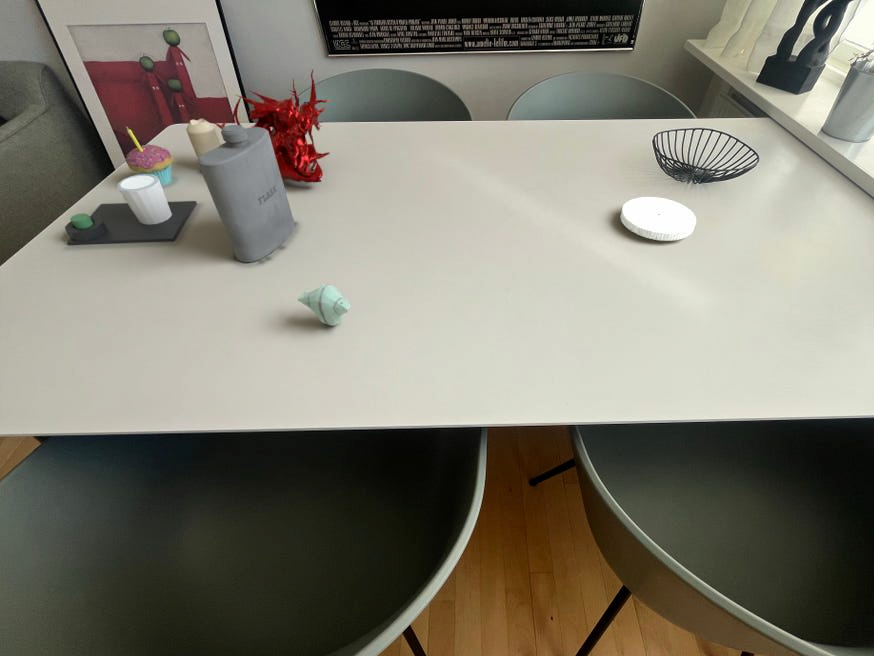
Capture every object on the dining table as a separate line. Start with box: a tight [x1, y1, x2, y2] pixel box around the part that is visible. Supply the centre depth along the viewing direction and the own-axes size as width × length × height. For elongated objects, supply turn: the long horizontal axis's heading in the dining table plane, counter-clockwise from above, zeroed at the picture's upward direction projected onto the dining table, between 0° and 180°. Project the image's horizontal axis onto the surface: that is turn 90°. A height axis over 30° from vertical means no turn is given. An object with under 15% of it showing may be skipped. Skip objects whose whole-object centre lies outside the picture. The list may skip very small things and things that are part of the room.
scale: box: [64, 200, 198, 246], centre depth 91 cm, size 18×14×2 cm
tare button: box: [69, 212, 93, 229], centre depth 86 cm, size 3×3×2 cm
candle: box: [185, 117, 222, 159], centre depth 105 cm, size 6×6×10 cm
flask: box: [196, 124, 296, 263], centre depth 81 cm, size 15×6×20 cm, turn 165°
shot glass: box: [116, 174, 172, 225], centre depth 89 cm, size 7×7×7 cm
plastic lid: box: [620, 196, 697, 242], centre depth 94 cm, size 14×14×2 cm
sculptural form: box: [212, 69, 331, 183], centre depth 104 cm, size 20×25×22 cm
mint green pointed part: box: [296, 284, 351, 326], centre depth 71 cm, size 8×4×7 cm, turn 75°
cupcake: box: [125, 126, 174, 186], centre depth 99 cm, size 9×8×12 cm
